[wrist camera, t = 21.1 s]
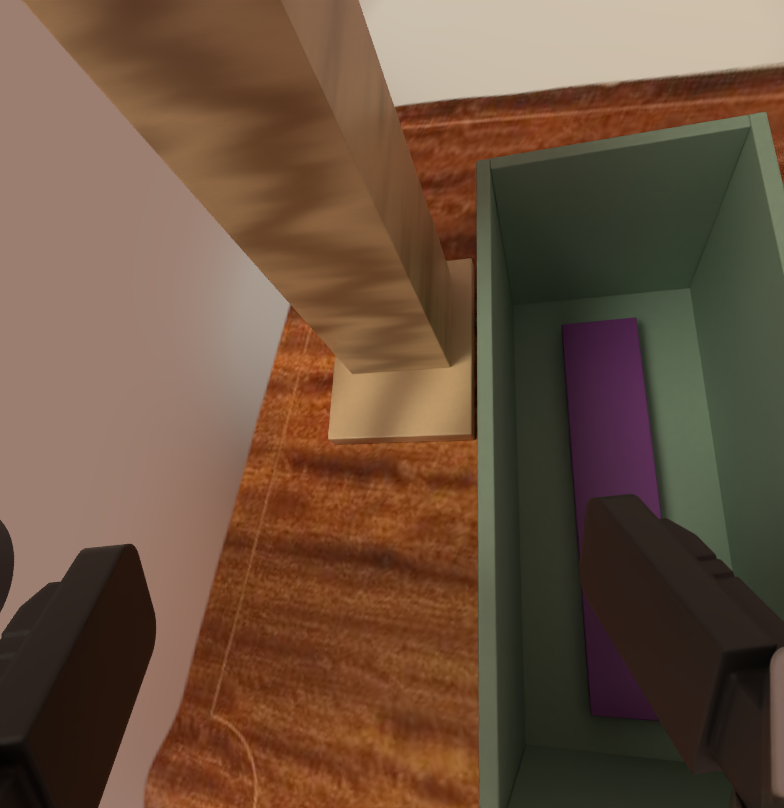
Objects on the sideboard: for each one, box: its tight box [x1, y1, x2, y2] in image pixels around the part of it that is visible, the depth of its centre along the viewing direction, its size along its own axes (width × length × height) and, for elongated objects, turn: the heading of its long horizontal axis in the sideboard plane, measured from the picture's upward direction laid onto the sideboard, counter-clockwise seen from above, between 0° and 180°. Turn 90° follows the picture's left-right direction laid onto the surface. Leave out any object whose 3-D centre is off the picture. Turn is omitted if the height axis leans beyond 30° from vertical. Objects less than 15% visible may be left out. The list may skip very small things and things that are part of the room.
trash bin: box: [476, 112, 784, 808], centre depth 25 cm, size 11×25×13 cm, turn 177°
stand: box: [22, 0, 475, 444], centre depth 23 cm, size 9×12×32 cm
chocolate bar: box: [562, 317, 662, 721], centre depth 29 cm, size 20×4×1 cm, turn 178°
